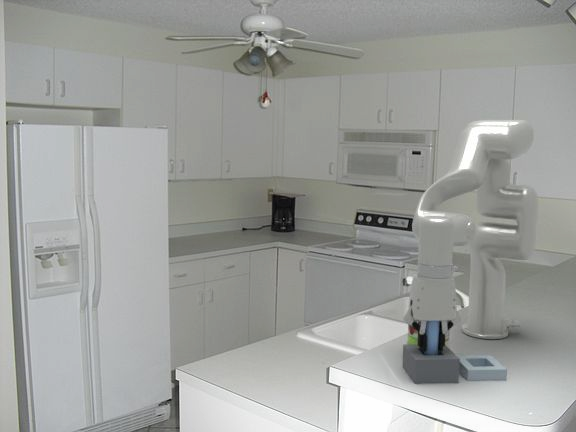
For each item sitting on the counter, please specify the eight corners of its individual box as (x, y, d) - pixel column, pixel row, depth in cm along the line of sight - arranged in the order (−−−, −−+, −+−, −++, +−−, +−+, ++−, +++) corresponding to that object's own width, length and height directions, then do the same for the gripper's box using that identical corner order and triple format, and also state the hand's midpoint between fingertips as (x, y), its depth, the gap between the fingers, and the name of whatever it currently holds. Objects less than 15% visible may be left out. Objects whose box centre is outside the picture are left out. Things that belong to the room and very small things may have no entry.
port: (443, 367, 144) (444, 343, 143) (458, 384, 134) (459, 359, 134) (402, 368, 143) (403, 344, 142) (414, 385, 133) (415, 359, 133)
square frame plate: (489, 367, 145) (490, 355, 145) (506, 382, 136) (506, 369, 136) (453, 367, 144) (453, 355, 144) (467, 382, 135) (468, 370, 135)
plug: (434, 363, 140) (437, 313, 139) (439, 368, 137) (441, 317, 135) (421, 363, 140) (423, 313, 138) (425, 369, 137) (427, 318, 135)
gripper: (463, 267, 140) (459, 343, 142) (394, 267, 139) (391, 344, 141) (476, 274, 133) (471, 354, 135) (403, 275, 131) (400, 355, 134)
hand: (430, 348), depth 138 cm, fingers closed on plug, 3 cm apart
